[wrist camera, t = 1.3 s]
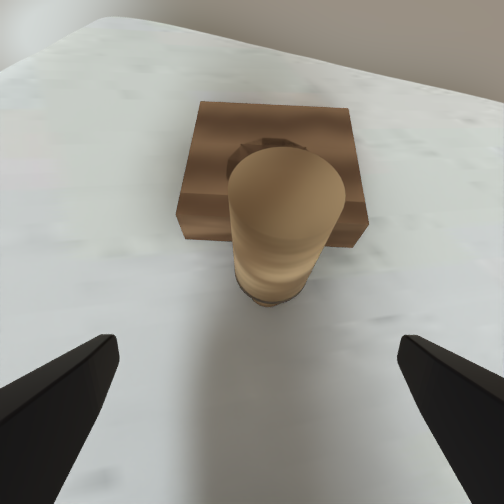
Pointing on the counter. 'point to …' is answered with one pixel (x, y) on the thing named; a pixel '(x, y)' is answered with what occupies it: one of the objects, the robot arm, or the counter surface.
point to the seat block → (255, 139)
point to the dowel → (281, 220)
